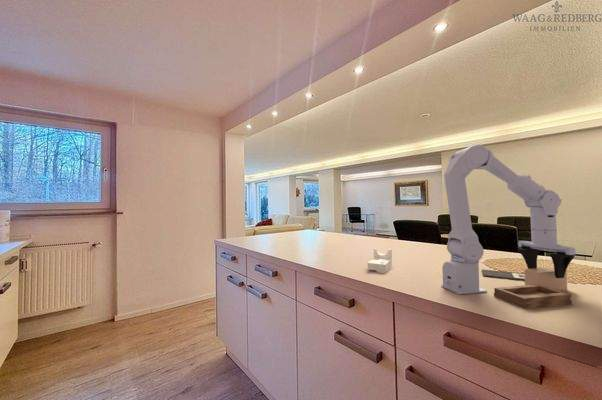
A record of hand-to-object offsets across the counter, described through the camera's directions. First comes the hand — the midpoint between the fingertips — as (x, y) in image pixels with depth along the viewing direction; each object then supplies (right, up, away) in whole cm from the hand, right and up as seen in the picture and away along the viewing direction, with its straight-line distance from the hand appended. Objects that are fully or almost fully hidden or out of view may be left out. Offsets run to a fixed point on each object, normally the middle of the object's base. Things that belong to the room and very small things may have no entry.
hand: (545, 274), depth 79 cm
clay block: (0, -5, 0) cm, 5 cm away
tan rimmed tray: (-12, -5, -8) cm, 15 cm away
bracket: (-41, -7, +30) cm, 51 cm away
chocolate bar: (+1, -5, +13) cm, 14 cm away
